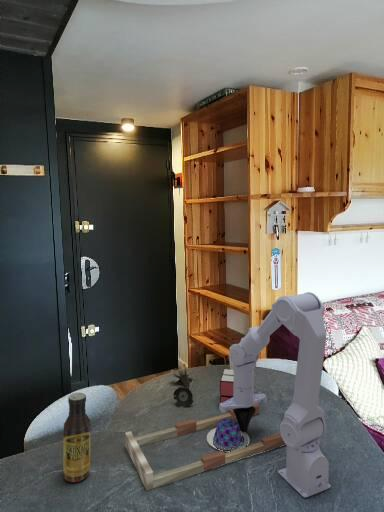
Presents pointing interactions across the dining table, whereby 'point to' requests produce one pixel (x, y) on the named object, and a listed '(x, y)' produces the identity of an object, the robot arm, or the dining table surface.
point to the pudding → (226, 434)
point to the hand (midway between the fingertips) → (243, 430)
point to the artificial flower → (183, 389)
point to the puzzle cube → (226, 385)
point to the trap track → (206, 461)
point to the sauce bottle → (76, 440)
